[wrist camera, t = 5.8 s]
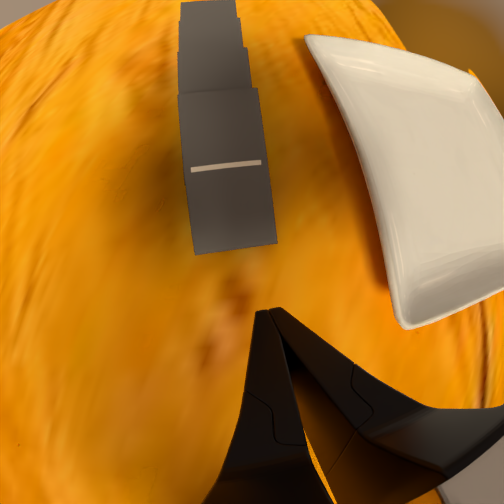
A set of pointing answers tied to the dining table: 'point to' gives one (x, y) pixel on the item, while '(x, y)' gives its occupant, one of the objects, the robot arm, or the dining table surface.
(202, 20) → the domino
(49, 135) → the dining table surface
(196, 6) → the domino
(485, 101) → the square plate
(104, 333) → the dining table surface
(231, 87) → the domino
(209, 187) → the domino
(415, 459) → the robot arm
